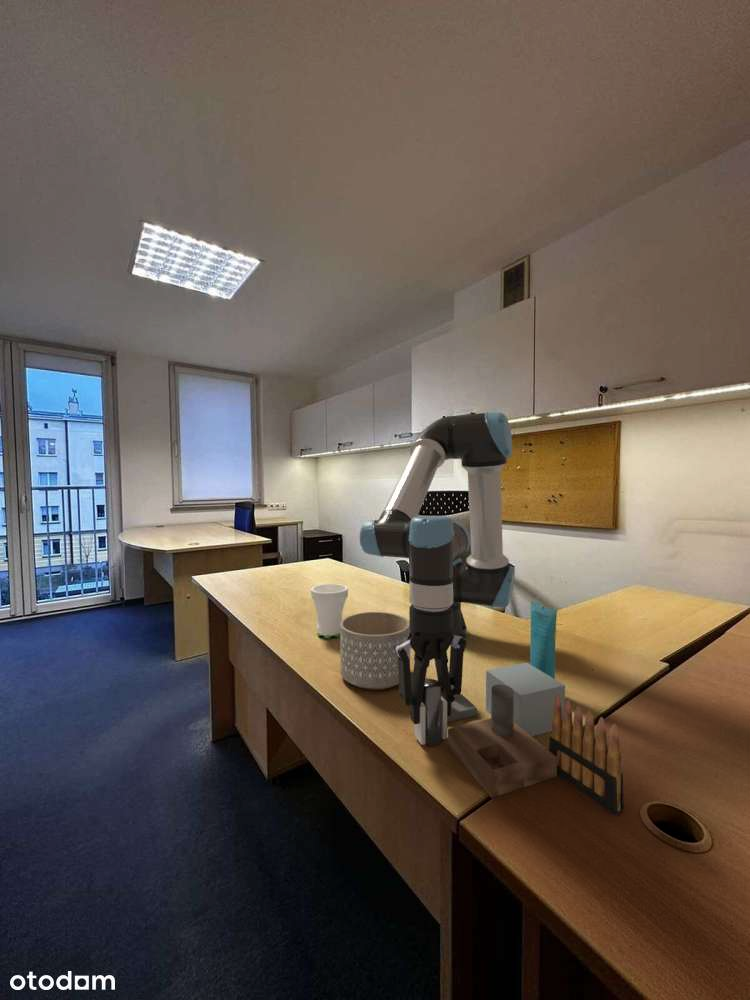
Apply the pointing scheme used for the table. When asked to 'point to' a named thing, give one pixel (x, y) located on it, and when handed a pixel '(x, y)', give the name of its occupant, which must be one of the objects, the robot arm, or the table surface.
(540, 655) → the tube
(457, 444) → the robot arm
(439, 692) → the peg
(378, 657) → the planter
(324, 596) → the cup
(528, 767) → the socket board
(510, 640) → the table surface
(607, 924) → the table surface
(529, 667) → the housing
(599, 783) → the ammunition clip
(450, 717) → the board
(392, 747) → the table surface
